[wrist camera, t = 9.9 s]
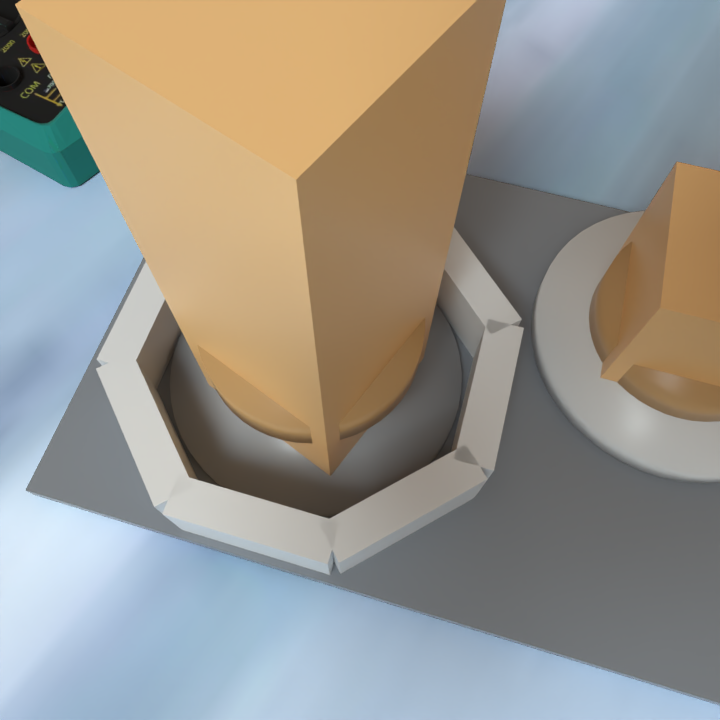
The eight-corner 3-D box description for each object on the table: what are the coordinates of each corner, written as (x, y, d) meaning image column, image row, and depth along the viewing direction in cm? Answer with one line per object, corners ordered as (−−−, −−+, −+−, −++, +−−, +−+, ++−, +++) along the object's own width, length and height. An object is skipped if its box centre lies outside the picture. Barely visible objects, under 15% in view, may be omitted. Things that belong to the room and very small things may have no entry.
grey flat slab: (817, 266, 22) (949, 153, 17) (818, 735, 16) (1016, 765, 11) (218, 126, 24) (184, -9, 19) (33, 494, 18) (-80, 433, 14)
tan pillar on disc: (451, 354, 19) (579, -43, 9) (334, 507, 18) (304, 246, 7) (302, 256, 21) (248, -194, 10) (178, 388, 19) (-58, 9, 8)
